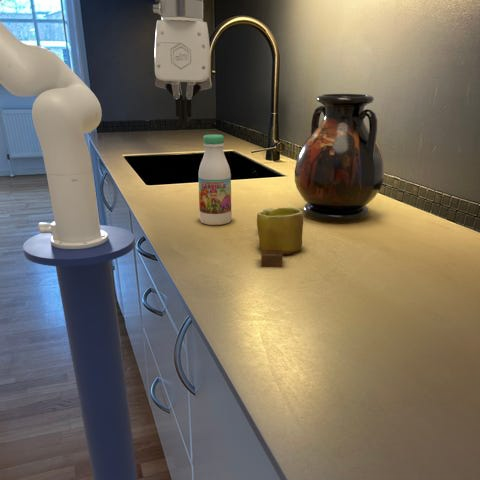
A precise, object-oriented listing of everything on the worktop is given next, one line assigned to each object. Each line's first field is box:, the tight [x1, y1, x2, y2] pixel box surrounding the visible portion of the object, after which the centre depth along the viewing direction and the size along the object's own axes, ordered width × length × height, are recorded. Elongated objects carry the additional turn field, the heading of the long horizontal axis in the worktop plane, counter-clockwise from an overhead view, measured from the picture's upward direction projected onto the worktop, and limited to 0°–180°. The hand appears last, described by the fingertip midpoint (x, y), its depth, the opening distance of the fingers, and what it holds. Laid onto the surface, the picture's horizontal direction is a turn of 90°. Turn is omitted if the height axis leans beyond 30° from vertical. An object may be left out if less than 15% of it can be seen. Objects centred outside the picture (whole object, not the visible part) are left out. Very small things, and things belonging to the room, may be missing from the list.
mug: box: [256, 207, 304, 255], centre depth 106 cm, size 12×10×10 cm
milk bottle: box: [198, 134, 232, 226], centre depth 121 cm, size 8×8×20 cm
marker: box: [260, 249, 284, 268], centre depth 98 cm, size 4×3×2 cm
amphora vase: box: [294, 93, 385, 224], centre depth 123 cm, size 22×22×28 cm
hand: (184, 120), depth 101 cm, fingers closed
